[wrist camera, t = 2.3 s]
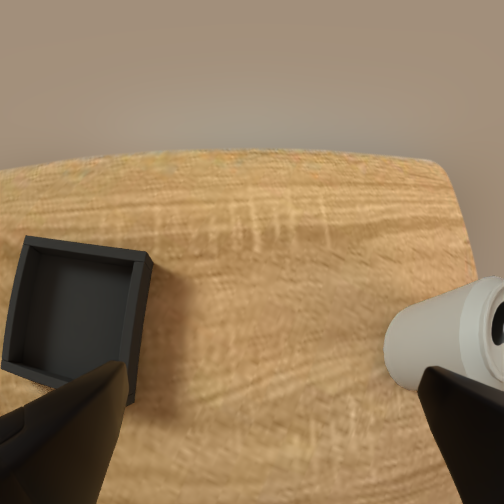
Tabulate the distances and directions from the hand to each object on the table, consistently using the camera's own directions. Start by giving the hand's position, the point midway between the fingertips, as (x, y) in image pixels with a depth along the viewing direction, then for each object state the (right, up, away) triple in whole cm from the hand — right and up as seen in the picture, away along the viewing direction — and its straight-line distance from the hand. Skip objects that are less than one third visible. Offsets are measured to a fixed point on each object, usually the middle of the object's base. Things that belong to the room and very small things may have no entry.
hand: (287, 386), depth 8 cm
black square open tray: (-15, -2, +14) cm, 21 cm away
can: (+13, -5, +16) cm, 22 cm away
